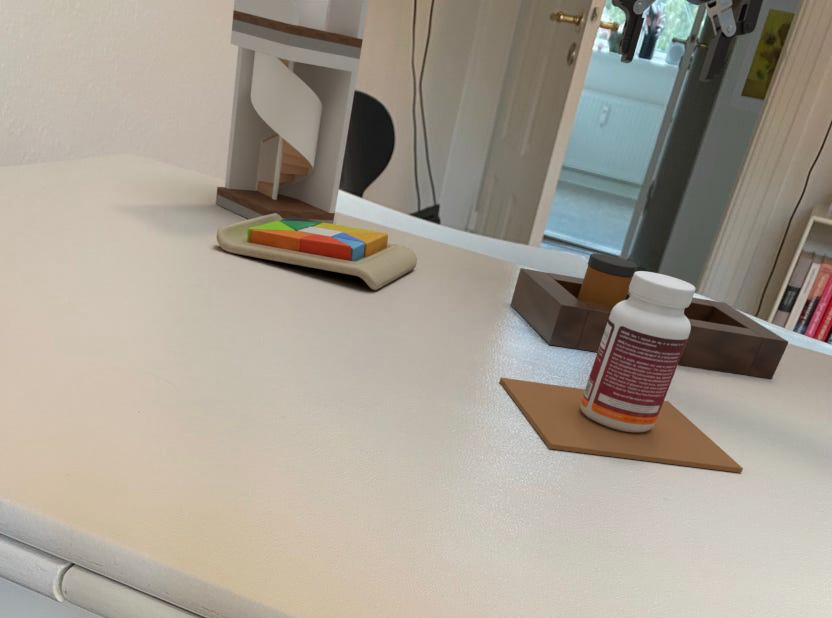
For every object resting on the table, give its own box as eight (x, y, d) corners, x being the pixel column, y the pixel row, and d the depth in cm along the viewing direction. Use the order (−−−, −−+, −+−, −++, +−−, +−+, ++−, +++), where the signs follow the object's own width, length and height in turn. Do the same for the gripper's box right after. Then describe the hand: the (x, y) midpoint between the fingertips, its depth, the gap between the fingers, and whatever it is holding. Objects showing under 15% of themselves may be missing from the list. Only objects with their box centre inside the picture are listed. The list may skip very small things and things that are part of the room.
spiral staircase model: (215, 203, 118) (247, -142, 99) (280, 207, 125) (322, -117, 105) (266, 227, 112) (311, -137, 92) (332, 229, 119) (386, -110, 99)
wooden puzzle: (275, 229, 112) (279, 199, 110) (418, 269, 109) (424, 238, 107) (210, 248, 98) (213, 213, 96) (372, 294, 94) (379, 259, 93)
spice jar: (602, 329, 101) (626, 258, 96) (619, 343, 97) (645, 270, 92) (561, 322, 100) (583, 250, 95) (576, 337, 96) (600, 262, 91)
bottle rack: (711, 336, 108) (725, 302, 106) (772, 379, 96) (789, 341, 94) (510, 304, 102) (520, 267, 100) (549, 345, 91) (561, 304, 89)
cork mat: (666, 405, 81) (668, 401, 81) (741, 473, 70) (743, 468, 70) (499, 381, 78) (500, 377, 78) (549, 448, 67) (551, 443, 66)
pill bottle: (668, 434, 73) (724, 295, 67) (611, 436, 70) (664, 290, 64) (618, 404, 77) (667, 270, 71) (562, 404, 74) (608, 265, 68)
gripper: (778, -99, 89) (717, 90, 96) (641, -135, 88) (589, 59, 95) (814, -121, 82) (745, 83, 90) (666, -161, 81) (608, 50, 88)
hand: (665, 71), depth 92 cm, fingers open, 8 cm apart
